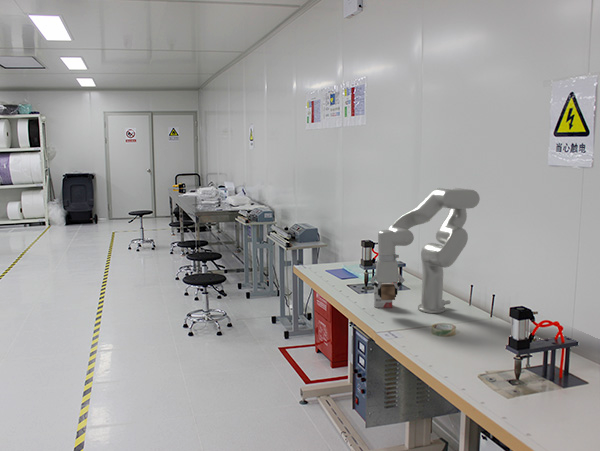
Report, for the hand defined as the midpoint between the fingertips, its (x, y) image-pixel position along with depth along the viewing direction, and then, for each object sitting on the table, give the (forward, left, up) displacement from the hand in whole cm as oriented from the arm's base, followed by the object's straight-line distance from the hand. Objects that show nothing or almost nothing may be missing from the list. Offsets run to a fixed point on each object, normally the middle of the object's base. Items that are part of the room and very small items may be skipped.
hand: (387, 296), depth 243 cm
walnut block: (0, 0, -1) cm, 1 cm away
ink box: (-6, -13, -9) cm, 17 cm away
